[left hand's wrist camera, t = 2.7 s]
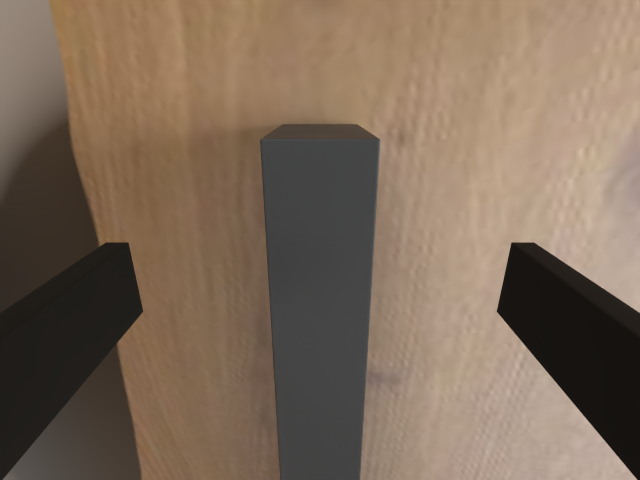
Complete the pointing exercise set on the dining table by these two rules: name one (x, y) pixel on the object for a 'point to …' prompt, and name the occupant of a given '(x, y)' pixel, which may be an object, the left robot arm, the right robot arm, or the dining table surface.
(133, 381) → the dining table surface
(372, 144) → the post
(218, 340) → the dining table surface
